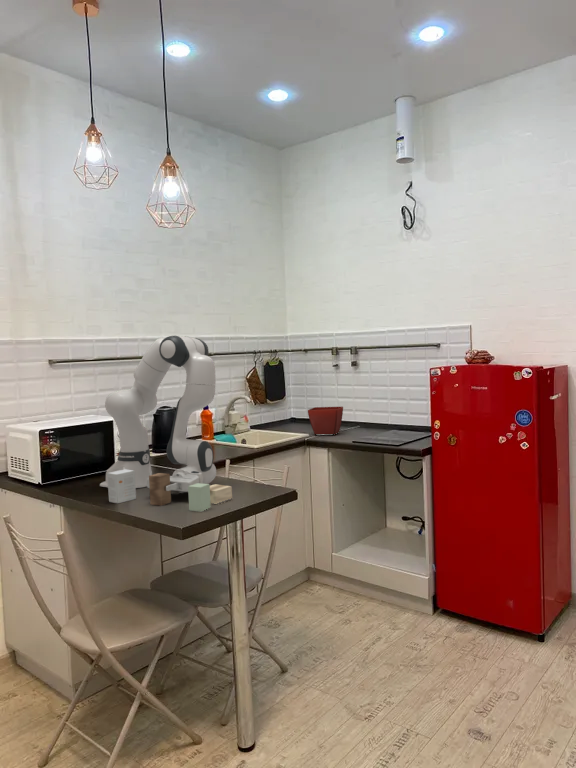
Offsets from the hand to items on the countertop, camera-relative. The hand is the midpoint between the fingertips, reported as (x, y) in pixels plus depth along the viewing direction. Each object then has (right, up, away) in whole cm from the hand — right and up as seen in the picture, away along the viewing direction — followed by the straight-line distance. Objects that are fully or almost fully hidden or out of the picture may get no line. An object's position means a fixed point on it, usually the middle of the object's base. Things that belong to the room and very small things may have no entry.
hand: (158, 488), depth 202 cm
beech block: (+20, -5, +1) cm, 21 cm away
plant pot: (+69, +4, +166) cm, 180 cm away
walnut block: (+1, -5, +1) cm, 6 cm away
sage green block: (+16, -5, -10) cm, 19 cm away
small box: (-15, -6, +8) cm, 18 cm away
